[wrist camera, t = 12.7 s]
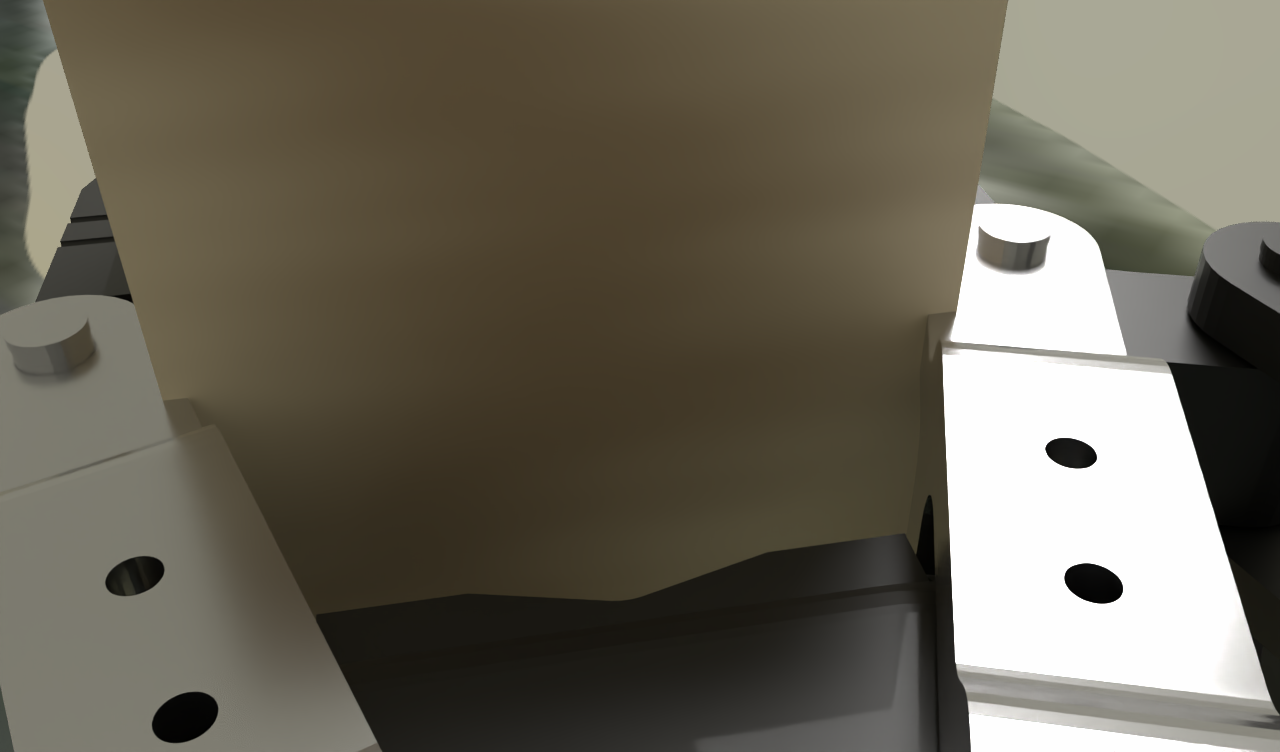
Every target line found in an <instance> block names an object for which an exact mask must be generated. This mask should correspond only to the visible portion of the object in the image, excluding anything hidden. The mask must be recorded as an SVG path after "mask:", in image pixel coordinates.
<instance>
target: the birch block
mask: <svg viewBox="0 0 1280 752" xmlns="http://www.w3.org/2000/svg"><path fill="white" fill-rule="evenodd" d="M43 2H44V5H45V8H46V12H47V15H48V18H49V22H50V25H51V28H52V32H53V35H54V39H55V42H56V45H57V49H58V52H59V55H60V58H61V62H62V65H63V69H64V72H65V75H66V79H67V82H68V85H69V89H70V92H71V95H72V99H73V102H74V105H75V109H76V112H77V115H78V119H79V122H80V126H81V129H82V132H83V136H84V139H85V142H86V145H87V149H88V152H89V156H90V159H91V162H92V166H93V169H94V172H95V175H96V179H97V182H98V186H99V189H100V192H101V196H102V199H103V202H104V206H105V209H106V213H107V216H108V219H109V223H110V226H111V229H112V233H113V236H114V239H115V243H116V246H117V249H118V253H119V256H120V259H121V263H122V266H123V269H124V273H125V276H126V279H127V283H128V286H129V290H130V293H131V296H132V300H133V303H134V306H135V310H136V313H137V316H138V320H139V323H140V326H141V330H142V333H143V336H144V340H145V343H146V346H147V350H148V353H149V356H150V360H151V363H152V366H153V370H154V373H155V377H156V380H157V383H158V387H159V390H160V393H161V397H162V400H163V401H164V400H173V399H182V398H188V399H189V401H190V403H191V405H192V407H193V409H194V411H195V413H196V415H197V418H198V420H199V422H200V424H201V426H202V427H205V426H208V425H211V424H215V425H216V426H217V428H218V429H219V431H220V432H221V434H222V436H223V438H224V440H225V442H226V444H227V446H228V448H229V450H230V452H231V454H232V456H233V458H234V460H235V462H236V464H237V465H238V467H239V469H240V471H241V473H242V475H243V477H244V479H245V481H246V483H247V485H248V487H249V489H250V491H251V493H252V495H253V497H254V499H255V501H256V503H257V505H258V507H259V509H260V511H261V513H262V515H263V517H264V519H265V521H266V523H267V525H268V527H269V529H270V531H271V533H272V535H273V537H274V539H275V541H276V543H277V545H278V547H279V549H280V551H281V553H282V555H283V557H284V559H285V561H286V563H287V565H288V567H289V569H290V570H291V572H292V574H293V576H294V578H295V580H296V582H297V584H298V586H299V588H300V590H301V592H302V594H303V596H304V598H305V600H306V602H307V604H308V606H309V608H310V610H311V612H312V614H313V616H314V618H315V620H316V614H323V613H330V612H338V611H345V610H352V609H359V608H367V607H374V606H381V605H388V604H395V603H403V602H410V601H417V600H424V599H432V598H439V597H446V596H453V595H461V594H468V593H469V594H488V595H508V596H527V597H547V598H566V599H586V600H605V601H622V600H629V599H634V598H638V597H642V596H645V595H647V594H650V593H653V592H656V591H659V590H662V589H664V588H667V587H670V586H673V585H676V584H679V583H681V582H684V581H687V580H690V579H693V578H696V577H698V576H701V575H704V574H707V573H710V572H712V571H715V570H718V569H721V568H724V567H727V566H729V565H732V564H735V563H738V562H741V561H744V560H746V559H749V558H752V557H755V556H758V555H761V554H763V553H766V552H772V551H779V550H786V549H794V548H801V547H808V546H815V545H823V544H830V543H837V542H844V541H851V540H859V539H866V538H873V537H880V536H888V535H895V534H902V533H905V534H907V527H908V521H909V514H910V508H911V501H912V495H913V489H914V482H915V475H916V467H917V459H918V448H919V435H920V365H921V358H922V352H923V345H924V338H925V331H926V324H927V318H928V314H936V313H945V312H954V311H957V310H958V304H959V298H960V292H961V286H962V280H963V273H964V267H965V261H966V255H967V249H968V243H969V237H970V231H971V224H972V218H973V212H974V206H975V200H976V194H977V188H978V181H979V175H980V169H981V163H982V157H983V151H984V145H985V139H986V132H987V126H988V120H989V114H990V108H991V102H992V95H993V90H994V83H995V77H996V71H997V64H998V59H999V53H1000V47H1001V40H1002V34H1003V28H1004V22H1005V16H1006V10H1007V3H1008V0H43Z"/></svg>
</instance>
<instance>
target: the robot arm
mask: <svg viewBox="0 0 1280 752" xmlns="http://www.w3.org/2000/svg"><path fill="white" fill-rule="evenodd" d="M70 219H71V223H69V224H67V227H66V229H65V232H64V234H63V237H62V239H61V241H60V242H61V247H58V248H57V251H56V253H55V256H54V258H53V260H52V263H51V265H50V268H49V270H48V273H47V275H46V277H45V280H44V282H43V285H42V287H41V289H40V292H39V294H38V297H37V299H36V301H35V303H32V304H29V305H25V306H22V307H19V308H17V309H14V310H12V311H9V312H7V313H4V314H2V315H0V685H1V690H2V695H3V700H4V704H5V709H6V714H7V719H8V724H9V728H10V733H11V738H12V743H13V748H14V752H1280V715H1279V714H1278V712H1277V711H1276V709H1275V707H1274V705H1273V703H1272V701H1271V698H1270V695H1269V693H1268V690H1267V686H1266V683H1265V680H1264V676H1263V673H1262V670H1261V666H1260V663H1259V660H1258V657H1257V653H1256V650H1255V647H1254V643H1253V640H1252V637H1251V635H1252V636H1253V637H1254V638H1255V639H1256V640H1257V641H1258V642H1260V643H1261V644H1262V645H1263V646H1264V647H1265V648H1266V649H1268V650H1269V651H1270V652H1271V653H1272V654H1273V655H1274V656H1275V657H1277V658H1278V659H1279V660H1280V223H1279V222H1248V223H1239V224H1235V225H1230V226H1227V227H1224V228H1221V229H1219V230H1217V231H1215V232H1214V233H1212V234H1211V235H1210V236H1209V237H1208V238H1207V239H1206V241H1205V243H1204V245H1203V249H1202V252H1201V256H1200V259H1199V263H1198V266H1197V269H1196V273H1195V276H1194V277H1193V276H1179V275H1165V274H1152V273H1138V272H1125V271H1116V270H1109V269H1104V265H1103V261H1102V257H1101V253H1100V249H1099V247H1098V245H1097V243H1096V241H1095V240H1094V239H1093V237H1092V236H1091V235H1090V234H1089V233H1087V232H1086V231H1085V230H1084V229H1083V228H1081V227H1080V226H1078V225H1076V224H1075V223H1073V222H1071V221H1069V220H1067V219H1065V218H1063V217H1060V216H1058V215H1055V214H1052V213H1049V212H1046V211H1042V210H1039V209H1035V208H1029V207H1024V206H1017V205H1008V204H996V203H995V202H994V201H993V200H992V199H991V198H990V197H989V196H988V194H987V193H986V192H985V191H984V190H983V189H982V188H981V187H980V186H979V184H978V188H977V194H976V200H975V206H974V212H973V218H972V224H971V231H970V237H969V243H968V249H967V255H966V261H965V267H964V273H963V280H962V286H961V292H960V298H959V304H958V310H957V311H954V312H945V313H936V314H928V318H927V324H926V331H925V338H924V345H923V352H922V358H921V365H920V435H919V448H918V459H917V467H916V475H915V482H914V489H913V495H912V501H911V508H910V514H909V521H908V527H907V534H905V533H902V534H895V535H888V536H880V537H873V538H866V539H859V540H851V541H844V542H837V543H830V544H823V545H815V546H808V547H801V548H794V549H786V550H779V551H772V552H766V553H763V554H761V555H758V556H755V557H752V558H749V559H746V560H744V561H741V562H738V563H735V564H732V565H729V566H727V567H724V568H721V569H718V570H715V571H712V572H710V573H707V574H704V575H701V576H698V577H696V578H693V579H690V580H687V581H684V582H681V583H679V584H676V585H673V586H670V587H667V588H664V589H662V590H659V591H656V592H653V593H650V594H647V595H645V596H642V597H638V598H634V599H629V600H622V601H605V600H586V599H566V598H547V597H527V596H508V595H488V594H469V593H468V594H461V595H453V596H446V597H439V598H432V599H424V600H417V601H410V602H403V603H395V604H388V605H381V606H374V607H367V608H359V609H352V610H345V611H338V612H330V613H323V614H316V620H315V618H314V616H313V614H312V612H311V610H310V608H309V606H308V604H307V602H306V600H305V598H304V596H303V594H302V592H301V590H300V588H299V586H298V584H297V582H296V580H295V578H294V576H293V574H292V572H291V570H290V569H289V567H288V565H287V563H286V561H285V559H284V557H283V555H282V553H281V551H280V549H279V547H278V545H277V543H276V541H275V539H274V537H273V535H272V533H271V531H270V529H269V527H268V525H267V523H266V521H265V519H264V517H263V515H262V513H261V511H260V509H259V507H258V505H257V503H256V501H255V499H254V497H253V495H252V493H251V491H250V489H249V487H248V485H247V483H246V481H245V479H244V477H243V475H242V473H241V471H240V469H239V467H238V465H237V464H236V462H235V460H234V458H233V456H232V454H231V452H230V450H229V448H228V446H227V444H226V442H225V440H224V438H223V436H222V434H221V432H220V431H219V429H218V428H217V426H216V425H215V424H211V425H208V426H205V427H202V426H201V424H200V422H199V420H198V418H197V415H196V413H195V411H194V409H193V407H192V405H191V403H190V401H189V399H188V398H182V399H173V400H164V401H163V400H162V397H161V393H160V390H159V387H158V383H157V380H156V377H155V373H154V370H153V366H152V363H151V360H150V356H149V353H148V350H147V346H146V343H145V340H144V336H143V333H142V330H141V326H140V323H139V320H138V316H137V313H136V310H135V306H134V303H133V300H132V296H131V293H130V290H129V286H128V283H127V279H126V276H125V273H124V269H123V266H122V263H121V259H120V256H119V253H118V249H117V246H116V243H115V239H114V236H113V233H112V229H111V226H110V223H109V219H108V216H107V213H106V209H105V206H104V202H103V199H102V196H101V192H100V189H99V186H98V182H97V179H94V180H93V181H92V182H91V183H89V184H88V185H87V186H86V187H84V188H83V189H82V190H81V193H80V195H79V198H78V200H77V203H76V205H75V207H74V210H73V212H72V215H71V217H70Z"/></svg>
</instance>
